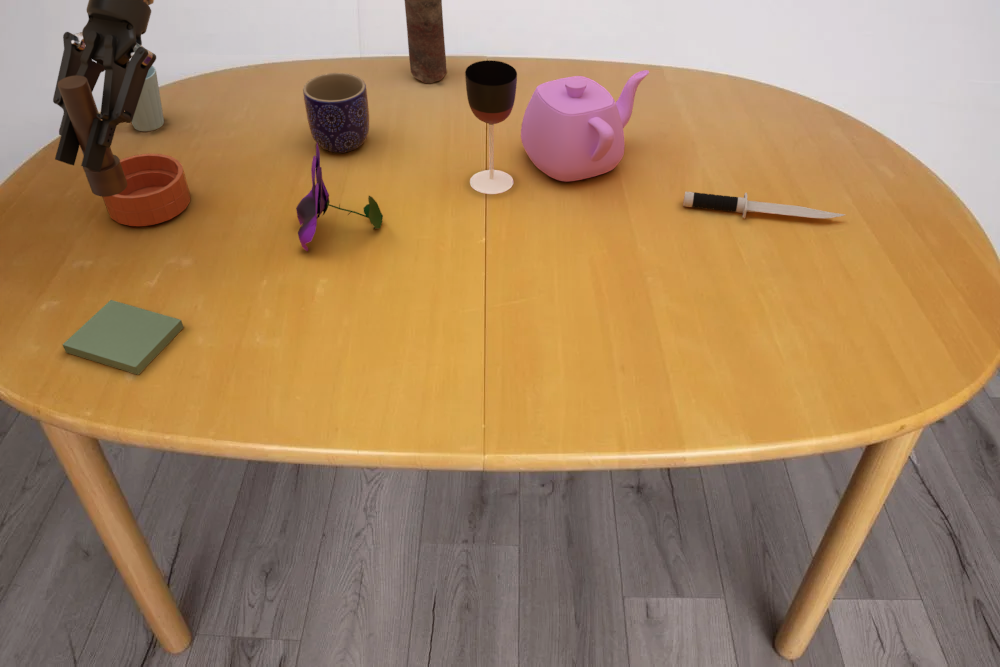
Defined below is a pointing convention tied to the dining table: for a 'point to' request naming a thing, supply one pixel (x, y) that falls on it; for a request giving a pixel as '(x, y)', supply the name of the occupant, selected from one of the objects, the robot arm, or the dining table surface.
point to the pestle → (82, 118)
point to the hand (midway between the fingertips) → (77, 165)
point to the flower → (325, 206)
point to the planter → (337, 111)
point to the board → (123, 336)
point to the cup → (149, 105)
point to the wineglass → (491, 113)
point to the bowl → (149, 191)
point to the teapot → (577, 126)
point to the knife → (750, 206)
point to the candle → (426, 39)
